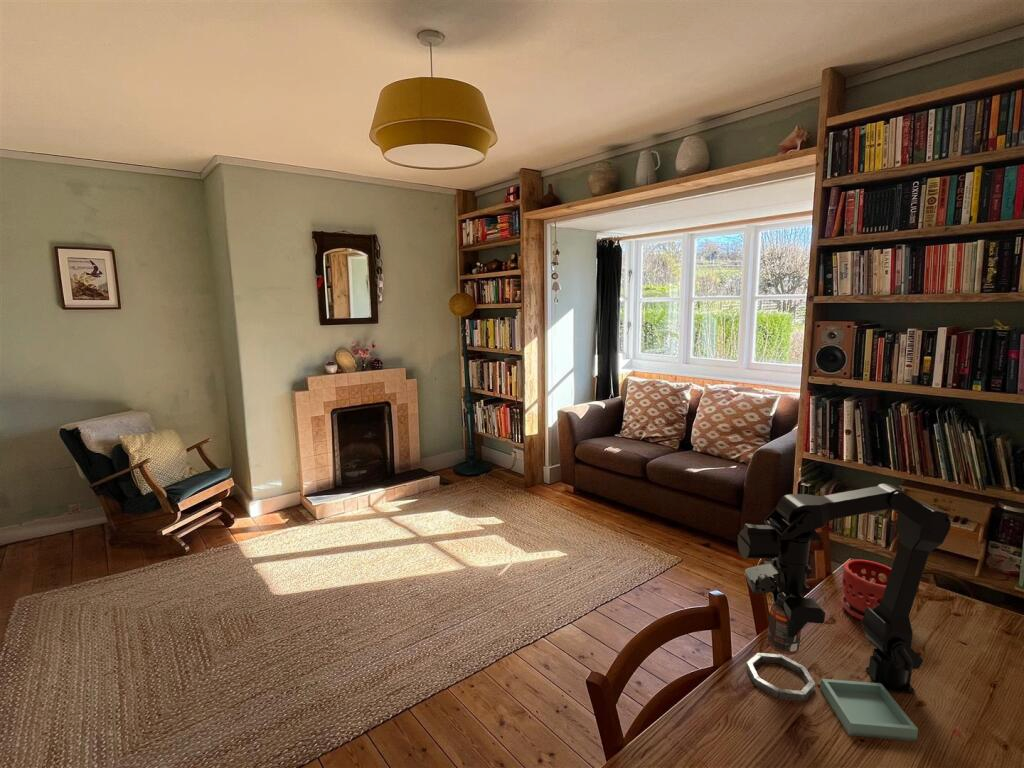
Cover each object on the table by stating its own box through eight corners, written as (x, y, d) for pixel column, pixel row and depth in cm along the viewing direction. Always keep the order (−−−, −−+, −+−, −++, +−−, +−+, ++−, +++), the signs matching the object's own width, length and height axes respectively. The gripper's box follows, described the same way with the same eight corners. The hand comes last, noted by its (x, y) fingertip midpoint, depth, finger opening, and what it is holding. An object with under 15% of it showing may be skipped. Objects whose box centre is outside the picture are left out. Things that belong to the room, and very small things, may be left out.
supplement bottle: (803, 658, 107) (808, 607, 105) (771, 654, 108) (776, 603, 107) (793, 639, 113) (798, 591, 111) (763, 636, 114) (768, 588, 112)
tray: (879, 694, 108) (881, 683, 108) (916, 741, 97) (918, 729, 96) (820, 689, 109) (821, 678, 109) (849, 735, 98) (850, 723, 97)
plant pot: (837, 618, 134) (842, 574, 132) (840, 594, 144) (845, 553, 142) (900, 637, 126) (907, 591, 124) (899, 611, 137) (905, 568, 135)
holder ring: (797, 661, 117) (797, 655, 117) (822, 702, 106) (823, 696, 105) (741, 657, 119) (741, 651, 118) (760, 697, 107) (760, 690, 106)
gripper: (736, 535, 117) (731, 599, 120) (768, 579, 99) (760, 654, 102) (789, 538, 116) (782, 602, 119) (830, 583, 98) (821, 658, 101)
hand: (784, 627), depth 110 cm, fingers closed on supplement bottle, 6 cm apart
